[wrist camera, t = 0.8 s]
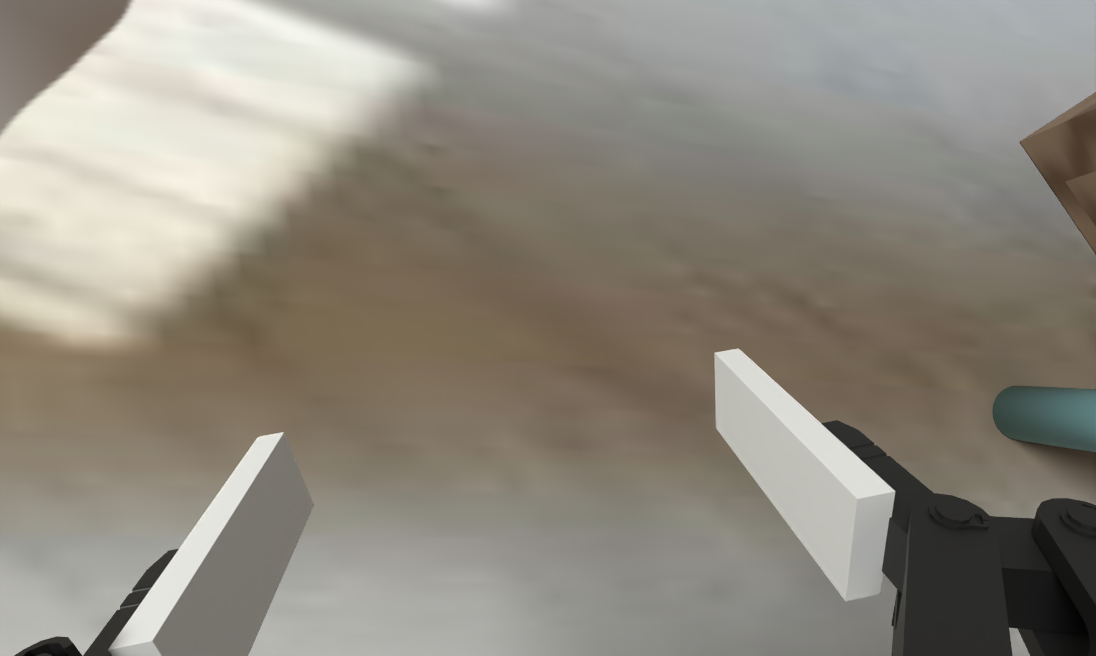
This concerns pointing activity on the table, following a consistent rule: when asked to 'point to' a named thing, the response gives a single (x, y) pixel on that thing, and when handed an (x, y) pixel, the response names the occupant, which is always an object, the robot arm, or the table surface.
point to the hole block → (1070, 162)
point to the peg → (1048, 416)
